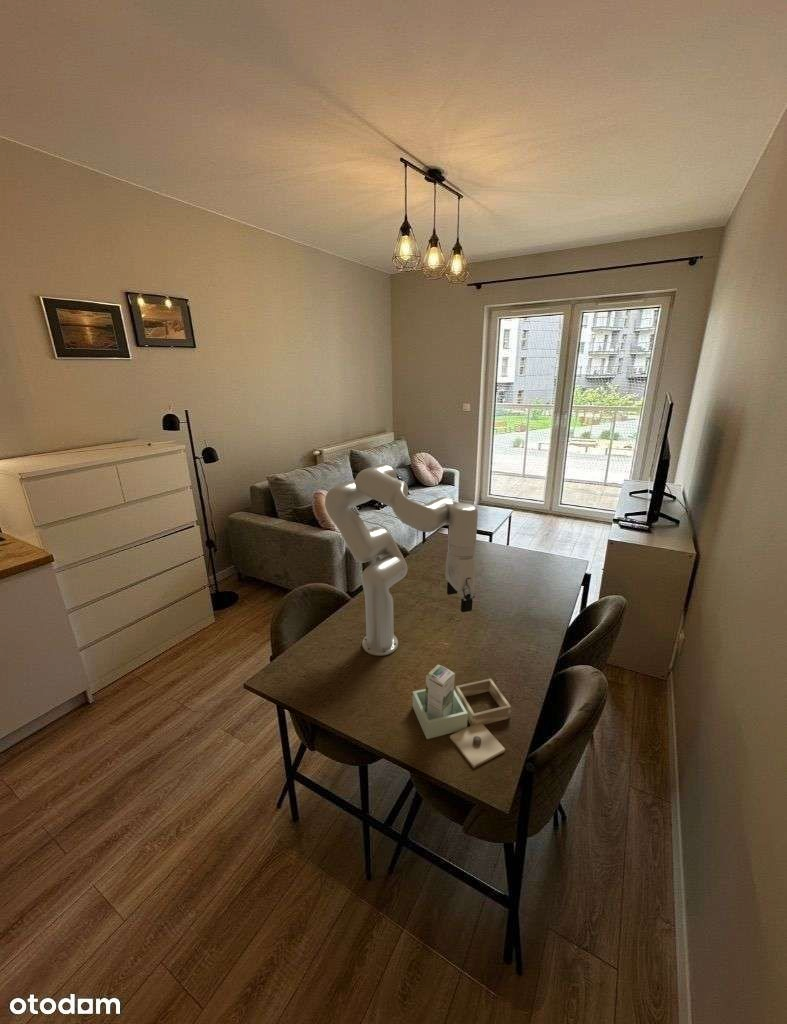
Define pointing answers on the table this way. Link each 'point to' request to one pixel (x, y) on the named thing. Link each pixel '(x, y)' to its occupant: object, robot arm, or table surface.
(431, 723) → the bin
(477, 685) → the frame
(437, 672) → the syrup box
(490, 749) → the lid
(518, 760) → the table surface
